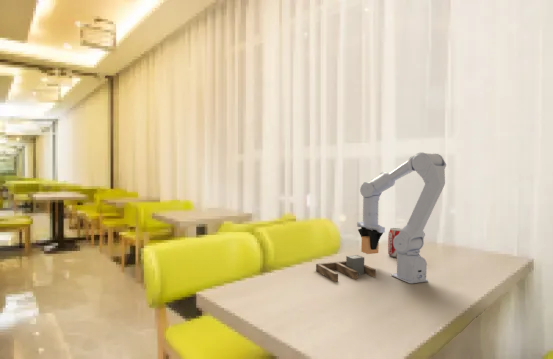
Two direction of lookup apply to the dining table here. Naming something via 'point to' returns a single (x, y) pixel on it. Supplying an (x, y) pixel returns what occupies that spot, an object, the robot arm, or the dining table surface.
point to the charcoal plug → (355, 263)
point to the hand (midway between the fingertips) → (369, 248)
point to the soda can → (391, 236)
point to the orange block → (367, 246)
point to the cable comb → (341, 270)
